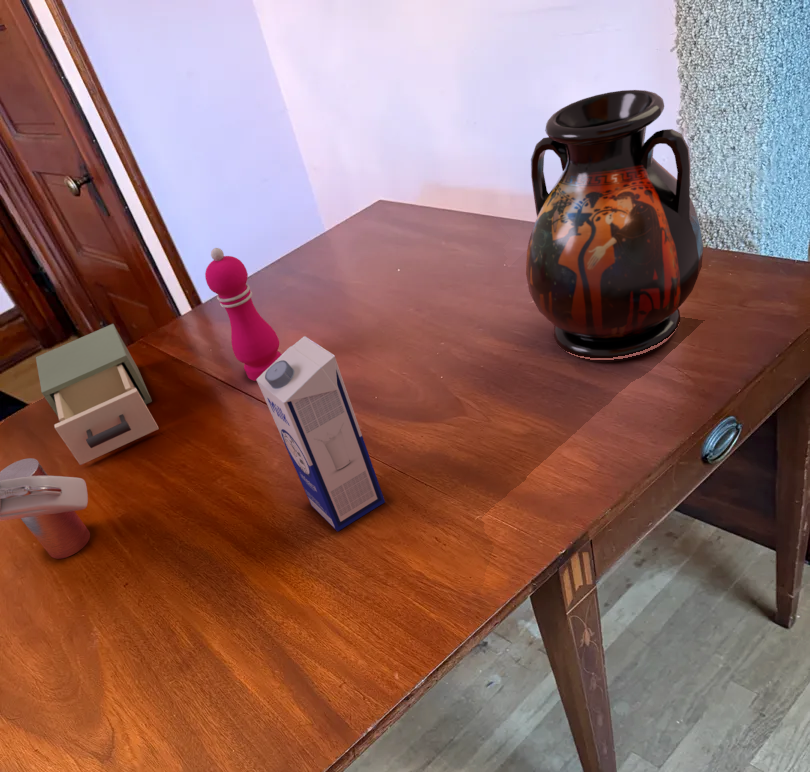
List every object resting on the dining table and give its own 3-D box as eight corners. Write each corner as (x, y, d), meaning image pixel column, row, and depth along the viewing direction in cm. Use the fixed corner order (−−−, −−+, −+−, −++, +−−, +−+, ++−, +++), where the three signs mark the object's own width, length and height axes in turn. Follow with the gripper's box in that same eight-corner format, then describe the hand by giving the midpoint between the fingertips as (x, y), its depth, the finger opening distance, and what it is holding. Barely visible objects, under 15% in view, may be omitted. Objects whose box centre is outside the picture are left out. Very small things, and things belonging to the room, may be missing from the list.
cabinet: (152, 401, 120) (126, 355, 114) (72, 438, 118) (41, 392, 112) (137, 367, 131) (113, 323, 125) (63, 400, 129) (35, 357, 123)
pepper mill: (265, 355, 122) (215, 235, 109) (297, 360, 118) (249, 237, 105) (236, 379, 119) (180, 259, 105) (267, 386, 115) (213, 262, 101)
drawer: (164, 441, 108) (142, 402, 104) (83, 479, 106) (57, 441, 102) (143, 392, 121) (123, 356, 117) (71, 425, 119) (47, 389, 115)
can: (51, 565, 95) (-7, 495, 87) (47, 541, 99) (-8, 472, 91) (92, 545, 96) (39, 473, 88) (87, 522, 100) (36, 452, 92)
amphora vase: (509, 368, 102) (472, 152, 83) (574, 289, 113) (554, 83, 94) (667, 387, 90) (666, 141, 71) (722, 297, 101) (733, 64, 83)
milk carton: (386, 502, 87) (334, 354, 74) (338, 532, 86) (276, 385, 72) (356, 477, 92) (303, 333, 79) (310, 505, 91) (248, 362, 77)
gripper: (35, 457, 78) (115, 470, 91) (-123, 482, 83) (-24, 491, 96) (41, 517, 78) (120, 521, 91) (-118, 539, 82) (-20, 539, 96)
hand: (45, 505), depth 94 cm, fingers closed on can, 5 cm apart
